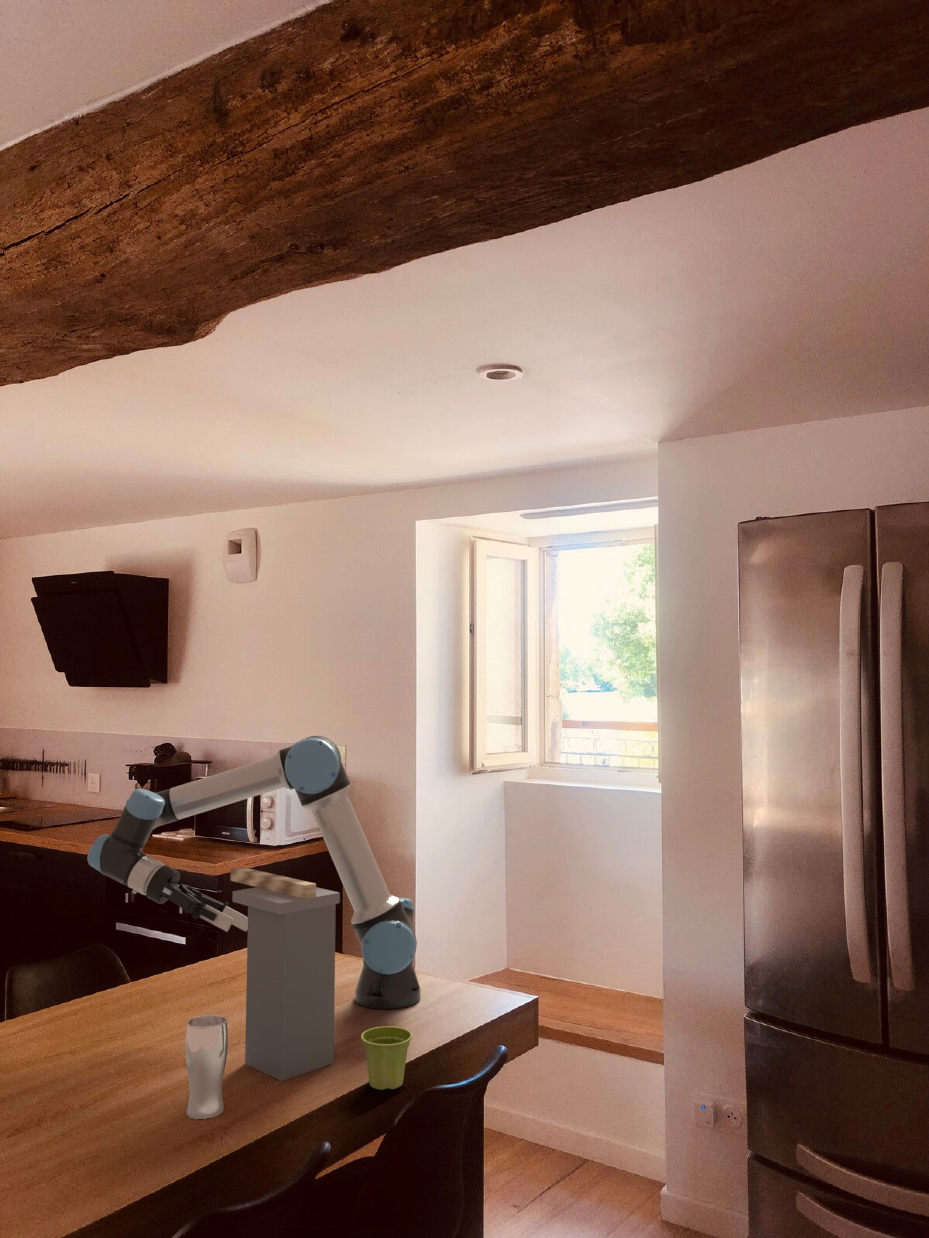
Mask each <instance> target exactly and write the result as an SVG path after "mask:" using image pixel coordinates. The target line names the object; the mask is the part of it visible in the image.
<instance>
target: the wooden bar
mask: <svg viewBox="0 0 929 1238" xmlns="http://www.w3.org/2000/svg"><path fill="white" fill-rule="evenodd" d="M229 880H230V881H231V882H235V883H239V884H243V885H247V886H251V887H254V888H256V887H259V888H263V889H267V890H271V891H275V892H279V893H283V894H287V895H291V896H295V897H299V898H303V899H308V898H313V897H316V887H317V883H315V882H311V881H310V882H309V881H307V880H301V879H297V878H292V877H288V876H285V875H278V874H275V873H270V872H267V871H262V870H256V869H252V868H247V867H243V866H238V867H232V868H230V879H229Z"/></svg>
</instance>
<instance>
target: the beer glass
mask: <svg viewBox="0 0 929 1238" xmlns="http://www.w3.org/2000/svg"><path fill="white" fill-rule="evenodd" d="M228 1035H229V1034H228V1018H227V1017H226V1016H224V1015H221V1014H220V1015H219V1014H205V1015H204V1014H203V1015H197V1016H194V1017H192V1018H190V1019H188V1021H187V1026H186V1037H185V1049H184V1050H185V1065H186V1072H187V1080H188V1086H189V1095H188V1096H189V1098H188V1103H187V1108H186V1116H187V1115H188V1116H187V1117H188V1118H190V1119H192V1118H193V1120H198V1119H204V1120H208V1119H207V1118H210V1117H213V1116H216V1115H219V1114H220V1113H221V1114H222V1113H223V1112H224V1109H225V1106H224V1101H223V1100H224V1098H223V1091H222V1090H223V1089H222V1088H223V1080H224V1075H225V1071H226V1069H225V1068H226V1063H227V1058H228V1049H229V1048H228V1047H229V1044H228V1043H229V1042H228V1041H229V1038H228ZM221 1114H220V1115H221ZM220 1115H219V1116H220ZM210 1119H211V1118H210Z"/></svg>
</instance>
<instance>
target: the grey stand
mask: <svg viewBox="0 0 929 1238" xmlns="http://www.w3.org/2000/svg"><path fill="white" fill-rule="evenodd" d="M340 895H341V893H340V892H338V891H334V890H330V889H326V888H320V887H317V886H316V897H313V898H308V899H303V898H299V897H295V896H291V895H287V894H283V893H279V892H275V891H271V890H267V889H263V888H259V887H250V888H245V889H244V888H243V889H238V890H232V901H231V902H233V903H236V904H240V905H243V906H247V917H248V929H247V940H246V941H247V943H246V944H247V945H246V948H247V950H246V954H247V955H246V992H245V993H246V994H245V995H246V1000H245V1003H246V1004H245V1046H244V1047H245V1048H244V1050H245V1052H244V1054H245V1055H244V1064H245V1065H246V1066H249V1067H251V1068H254V1069H255V1070H258V1071H259V1072H262V1073H263V1074H266V1075H268V1076H270V1077H273V1078H274V1079H276V1080H278V1081H280V1082H282V1081H283V1082H284V1081H286V1080H289V1079H292V1078H295V1077H298V1076H301V1075H303V1074H307V1073H309V1072H313V1071H316V1070H318V1068H319V1069H321V1068H325V1067H327V1065H328V1066H330V1065H329V1064H331V1065H333V1064H335V1063H334V1060H335V1057H334V1056H335V1054H334V1053H335V996H336V995H335V989H336V988H335V983H336V982H335V980H336V911H337V910H336V905H337V904H340V902H341V900H340V899H341V896H340ZM324 1066H325V1067H324Z"/></svg>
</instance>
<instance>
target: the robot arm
mask: <svg viewBox="0 0 929 1238" xmlns="http://www.w3.org/2000/svg"><path fill="white" fill-rule="evenodd" d="M351 785H352V784H351V782H350V779H349V777H348V775H347V772H346V769H345V768H344V765H343V762H342V756H341V752H340V749H339V748H338V746H337V745H336V744H335V742H334V741H332V740H331V739H329V738H328V737H325V736H321V735H312V736H308V737H305V738H302V739H301V740H298V742H297V741H296V742H295V743H294V744H293V745H290V746H288V747H286V748H285V747H284V748H281V749H279V750H277V752H276V754H275V755H274V756H271V757H268V758H265V759H261V760H258V761H255V762H251V763H248V764H245V765H242V766H239V767H235V768H232V769H229V770H226V771H222V772H218V773H216V774H213V775H210V776H207V777H203V778H200V779H197V780H194V781H190V782H186V783H183V784H181V785H177V786H174V787H171V788H169V789H164V790H161V791H157V792H153V791H151V790H148V789H144V788H135V789H134V790H133V791H132V793H131V794H130V796H129V798H128V799H126V802H125V805H124V807H123V810H122V811H121V814H120V816H119V817H118V820H117V822H116V823H115V826H114V828H113V830H112V832H111V833H110V834H107V833H104V834H102V835H100V836H98V838H96V839H95V841H94V843H93V844H91V846H90V848H89V851H88V854H87V857H86V858H87V862H88V866H90V867H92V868H93V869H95V870H96V871H98V872H99V873H100V874H102V875H103V876H106V877H109V878H110V879H112V880H114V881H116V882H118V883H120V884H122V885H125V886H126V887H128V888H130V889H132V891H131V893H132V894H135V895H136V894H137V893H139V894H141V895H143V896H146V898H147V899H150V900H151V901H152V902H155V903H156V904H160V905H163V904H164V903H167V902H168V901H171V902H172V903H173V904H175V905H177V906H178V907H179V908H181V909H183V910H184V911H185V912H187V913H188V914H189V915H192V916H191V918H193V919H194V920H198V919H199V918H200V919H202V920H204V921H206V922H208V923H210V924H211V925H213V926H215V927H217V928H219V929H221V930H223V931H225V932H227V933H228V932H229V930H230V928H231V926H232V925H233V926H234V927H236V928H238V929H239V930H242V931H243V932H248V916H246V915H244V914H243V913H241V912H239V911H236V910H235V909H233V908H231V907H229V906H228V905H229V903H230V902H227V901H224V903H223V902H221V901H219V900H216V899H215V898H212V897H210V896H208V895H206V894H203V893H202V892H200V891H199V890H197V889H194V888H192V887H191V886H190V885H188V884H183V883H180V880H181V873H180V872H179V871H178V870H177V869H174V868H173V867H171V866H168V865H167V864H165V865H164V862H162V861H161V860H158V859H157V858H155V857H152V856H151V855H148V854H146V853H144V852H143V850H144V848H145V845H147V842H148V840H149V837H150V836H151V834H152V832H153V830H155V829H156V828H158V827H161V826H164V825H167V824H171V823H173V822H177V821H179V820H182V819H185V818H189V817H191V816H195V815H198V814H201V813H202V814H203V813H205V812H209V811H212V810H214V809H218V808H221V807H224V806H227V805H231V804H234V803H237V802H241V801H244V800H247V799H249V798H254V797H257V796H260V795H263V794H267V793H270V792H273V791H277V790H279V789H283V788H286V789H287V790H289V791H291V790H293V789H294V791H295V793H296V795H297V798H298V800H299V802H300V804H301V807H302V808H304V809H306V810H309V811H310V812H312V814H313V817H314V819H315V822H316V824H317V827H318V829H319V831H320V834H321V835H322V838H323V841H324V843H325V845H326V848H327V850H328V852H329V855H330V857H331V860H332V862H333V864H334V866H335V869H336V871H337V874H338V876H339V879H340V881H341V883H342V885H343V888H344V890H345V893H346V895H347V897H348V900H349V902H350V904H351V906H352V909H353V915H352V917H351V920H350V922H351V924H352V927H353V930H354V932H355V934H356V936H357V939H358V942H359V944H360V946H361V947H360V948H361V949H360V951H361V955H362V959H363V960H362V961H363V962H362V968H361V972H360V975H359V978H358V980H357V984H356V987H355V991H354V992H355V993H354V996H355V999H354V1000H355V1002H356V1003H357V1004H358V1005H359V1006H363V1007H366V1008H369V1009H376V1010H377V1009H380V1010H386V1009H387V1010H390V1009H402V1008H406V1007H410V1006H412V1005H413V1006H414V1005H416V1004H417V1003H418V1002H419V1001H421V987H420V984H419V983H420V982H419V979H418V977H417V974H416V969H415V966H414V958H415V954H416V951H417V947H418V945H417V944H418V941H417V937H416V935H415V929H414V928H415V926H414V912H415V907H414V902H413V900H412V899H411V898H408V897H398V896H395V895H392V894H391V893H390V891H389V888H388V885H387V884H386V881H385V879H384V877H383V874H382V871H381V869H380V866H379V865H378V863H377V860H376V858H375V856H374V853H373V850H372V848H371V846H370V844H369V842H368V839H367V837H366V834H365V832H364V829H363V827H362V825H361V823H360V820H359V818H358V816H357V813H356V810H355V808H354V806H353V804H352V802H351V799H350V796H349V792H350V789H351V787H352V786H351ZM179 883H180V884H179Z"/></svg>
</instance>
